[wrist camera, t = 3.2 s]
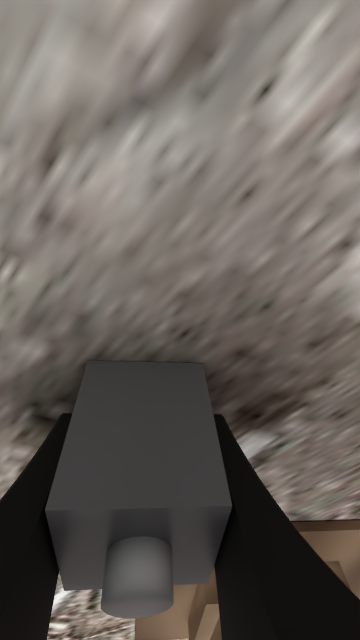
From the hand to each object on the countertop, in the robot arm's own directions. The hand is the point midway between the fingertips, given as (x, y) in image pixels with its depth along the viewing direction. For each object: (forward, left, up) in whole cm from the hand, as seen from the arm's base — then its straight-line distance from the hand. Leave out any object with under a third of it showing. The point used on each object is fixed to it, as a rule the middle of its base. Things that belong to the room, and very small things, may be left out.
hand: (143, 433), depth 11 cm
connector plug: (0, 0, -1) cm, 1 cm away
